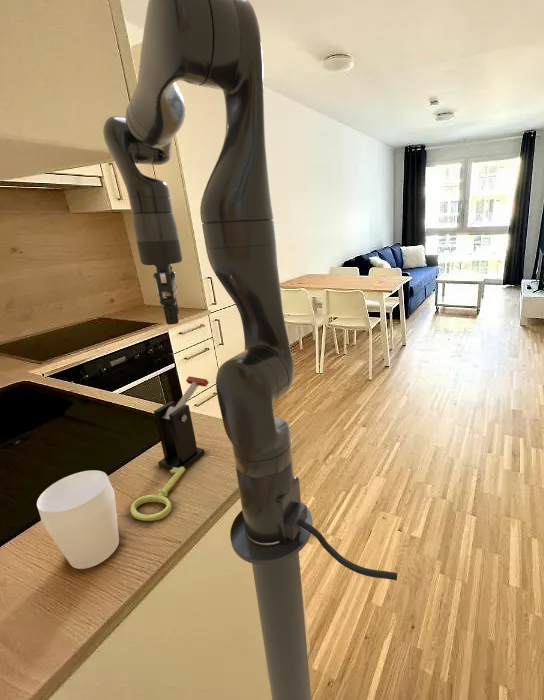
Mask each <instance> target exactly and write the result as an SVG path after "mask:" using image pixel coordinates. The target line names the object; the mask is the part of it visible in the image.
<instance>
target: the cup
mask: <svg viewBox="0 0 544 700" xmlns="http://www.w3.org/2000/svg"><path fill="white" fill-rule="evenodd" d="M36 507H37V510H38V513H39V516H40V521H41V524H42V526H43V528H44V529H45V531H46V532H47V533H48V535H49V536H50V538H51V539H52V540H53V542H54V544H55V545H56V546H57V548H58V550H59V551H60V552H61V553H62V555H63V556H64V557H65V559H66V560H67V562H68V563H69V564H70V566H71V567H72V568H74V569H77V570H85V569H90V568H92V567H95V566H97V565H99V564H101V563H103V562H104V561H106V560H107V559H108V558H109V557H110V556H112V555H113V554H114V552H115V551H116V550H117V548H118V546H119V543H120V536H119V526H118V515H117V506H116V495H115V490H114V487H113V486H112V484H111V481H110V478H109V475H108V474H107V473H106V472H104V471H101V470H94V469H93V470H83V471H80V472H76V473H72V474H70V475H68V476H65V477H63V478H61V479H59V480H57V481H56V482H54V483H52V484H51V485H50V486H48V487H47V488H46V489H45V490H44V491H42V492H41V494H40V495H39V497H38V498H37V501H36Z"/></svg>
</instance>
